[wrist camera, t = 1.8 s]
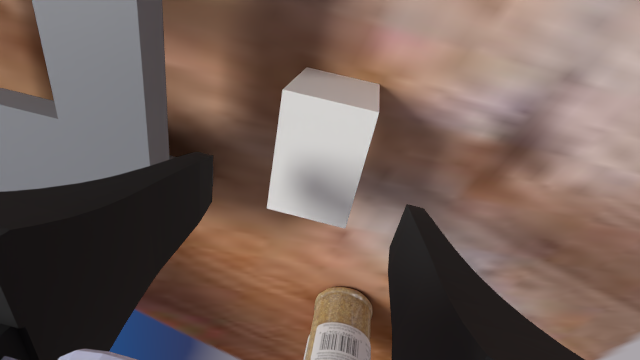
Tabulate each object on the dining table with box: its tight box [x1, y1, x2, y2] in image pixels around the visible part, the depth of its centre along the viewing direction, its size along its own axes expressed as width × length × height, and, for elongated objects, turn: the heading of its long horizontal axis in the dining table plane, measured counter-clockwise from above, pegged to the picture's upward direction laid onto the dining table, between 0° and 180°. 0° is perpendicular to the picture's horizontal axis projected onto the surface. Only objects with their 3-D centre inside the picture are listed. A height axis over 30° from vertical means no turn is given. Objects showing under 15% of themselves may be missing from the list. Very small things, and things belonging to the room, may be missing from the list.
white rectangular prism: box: [267, 67, 380, 228], centre depth 17 cm, size 6×4×5 cm, turn 169°
